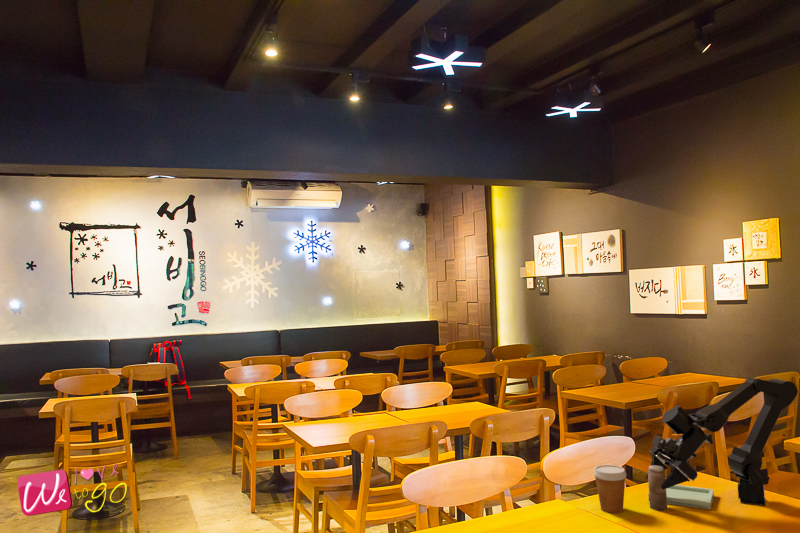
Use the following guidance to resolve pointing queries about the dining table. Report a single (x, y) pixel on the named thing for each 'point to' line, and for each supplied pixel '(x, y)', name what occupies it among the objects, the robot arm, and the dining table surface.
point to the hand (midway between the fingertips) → (654, 483)
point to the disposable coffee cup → (610, 487)
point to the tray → (690, 496)
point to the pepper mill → (657, 488)
